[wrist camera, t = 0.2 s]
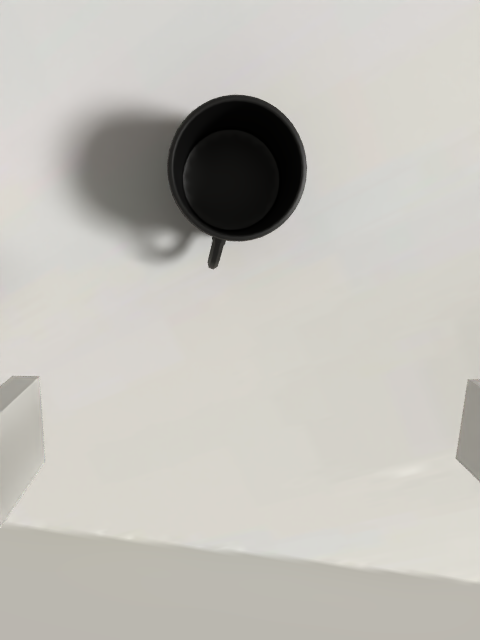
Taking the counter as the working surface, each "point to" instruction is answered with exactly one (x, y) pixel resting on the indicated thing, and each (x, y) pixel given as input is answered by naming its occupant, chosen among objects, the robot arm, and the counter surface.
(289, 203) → the mug
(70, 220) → the counter surface
